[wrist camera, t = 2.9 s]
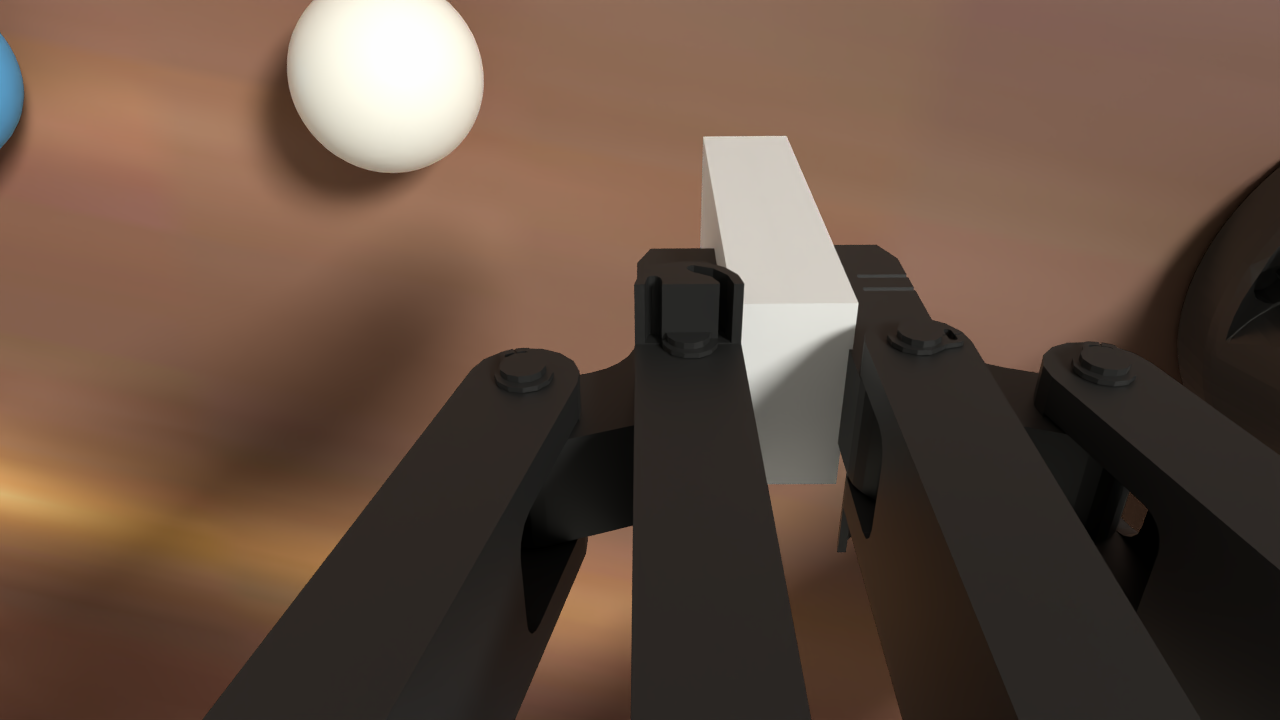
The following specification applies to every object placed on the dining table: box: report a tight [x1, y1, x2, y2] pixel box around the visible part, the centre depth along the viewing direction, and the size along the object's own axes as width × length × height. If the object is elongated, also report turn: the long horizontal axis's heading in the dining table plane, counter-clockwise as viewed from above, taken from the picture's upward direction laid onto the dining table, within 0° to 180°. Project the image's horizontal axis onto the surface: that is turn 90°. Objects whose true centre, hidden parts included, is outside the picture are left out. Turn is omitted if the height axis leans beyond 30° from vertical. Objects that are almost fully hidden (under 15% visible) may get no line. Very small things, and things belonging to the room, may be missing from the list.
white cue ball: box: [287, 0, 484, 173], centre depth 27 cm, size 6×6×6 cm
